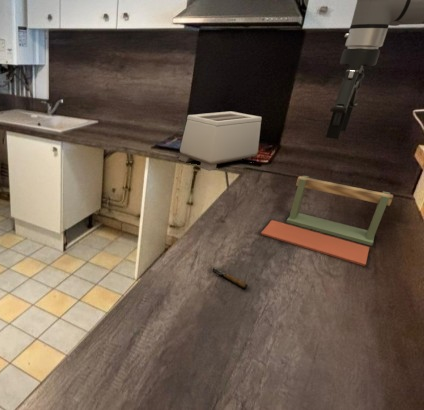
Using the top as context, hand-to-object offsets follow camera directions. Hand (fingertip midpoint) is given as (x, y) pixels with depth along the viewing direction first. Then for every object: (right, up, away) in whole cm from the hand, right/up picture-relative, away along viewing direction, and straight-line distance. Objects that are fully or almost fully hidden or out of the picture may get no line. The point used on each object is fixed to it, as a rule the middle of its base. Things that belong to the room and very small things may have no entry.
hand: (336, 134), depth 97 cm
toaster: (-4, +2, +72) cm, 72 cm away
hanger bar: (+4, -16, +4) cm, 17 cm away
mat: (-6, -29, +1) cm, 30 cm away
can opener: (-36, -36, -16) cm, 53 cm away
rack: (+3, -26, +8) cm, 28 cm away
